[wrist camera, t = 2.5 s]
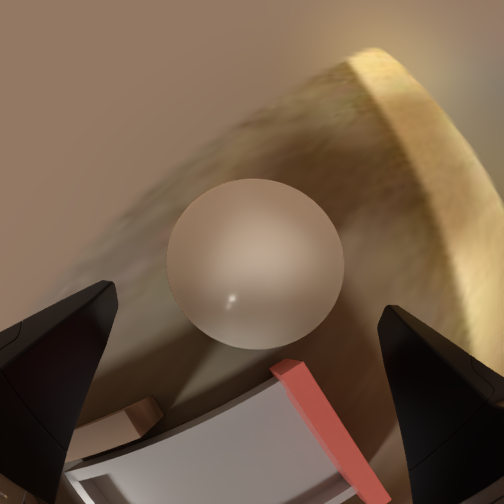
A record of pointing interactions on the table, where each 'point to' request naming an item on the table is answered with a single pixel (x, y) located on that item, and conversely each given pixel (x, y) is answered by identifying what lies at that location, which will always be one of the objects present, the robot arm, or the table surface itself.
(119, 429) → the slot
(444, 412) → the robot arm
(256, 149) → the table surface
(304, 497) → the tray
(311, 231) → the canister
